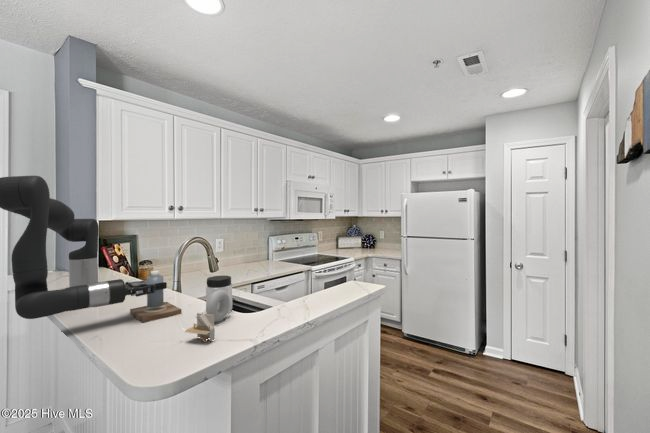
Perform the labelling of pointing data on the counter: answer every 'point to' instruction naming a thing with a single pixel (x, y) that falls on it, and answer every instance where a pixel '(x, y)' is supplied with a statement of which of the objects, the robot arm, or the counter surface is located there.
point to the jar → (219, 287)
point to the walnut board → (155, 312)
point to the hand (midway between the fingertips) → (163, 284)
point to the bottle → (156, 297)
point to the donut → (213, 302)
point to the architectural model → (204, 327)
